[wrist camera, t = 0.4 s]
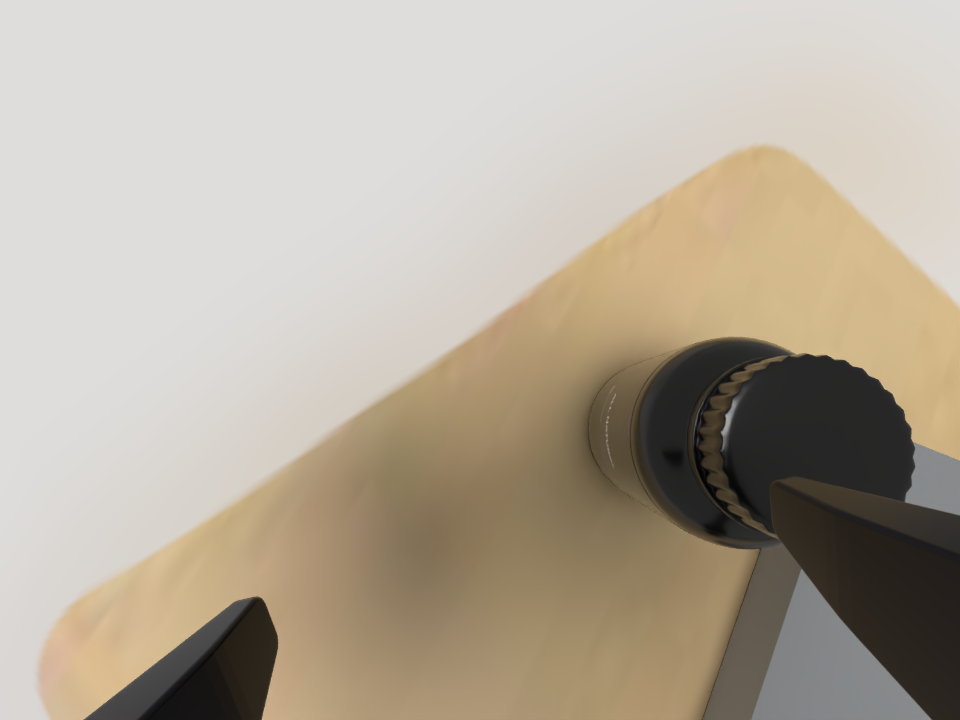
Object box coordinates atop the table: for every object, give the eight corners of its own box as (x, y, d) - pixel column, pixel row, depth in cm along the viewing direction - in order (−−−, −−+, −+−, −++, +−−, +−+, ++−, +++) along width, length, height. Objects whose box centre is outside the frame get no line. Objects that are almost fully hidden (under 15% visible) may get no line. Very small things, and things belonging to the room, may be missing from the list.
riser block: (985, 867, 21) (1067, 942, 18) (697, 733, 22) (730, 783, 19) (1077, 527, 22) (1167, 543, 19) (806, 418, 23) (851, 417, 20)
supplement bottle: (558, 409, 24) (620, 398, 12) (672, 337, 24) (844, 256, 12) (636, 531, 23) (788, 651, 11) (753, 455, 23) (1025, 491, 11)
